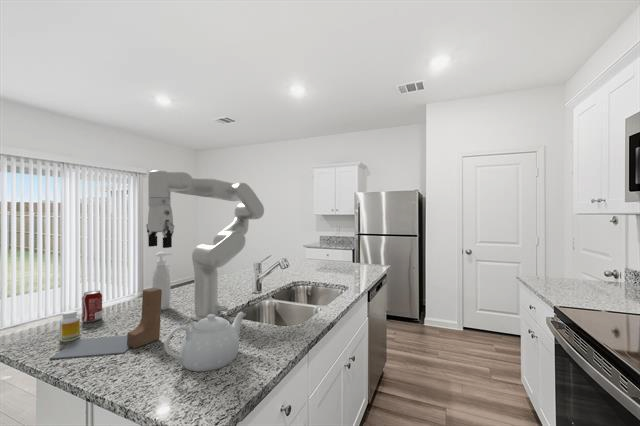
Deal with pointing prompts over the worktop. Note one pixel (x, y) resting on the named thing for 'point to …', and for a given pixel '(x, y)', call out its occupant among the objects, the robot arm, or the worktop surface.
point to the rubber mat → (94, 347)
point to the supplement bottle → (69, 326)
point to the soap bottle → (162, 280)
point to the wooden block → (147, 319)
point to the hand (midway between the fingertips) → (159, 246)
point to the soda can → (91, 306)
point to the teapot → (208, 343)
